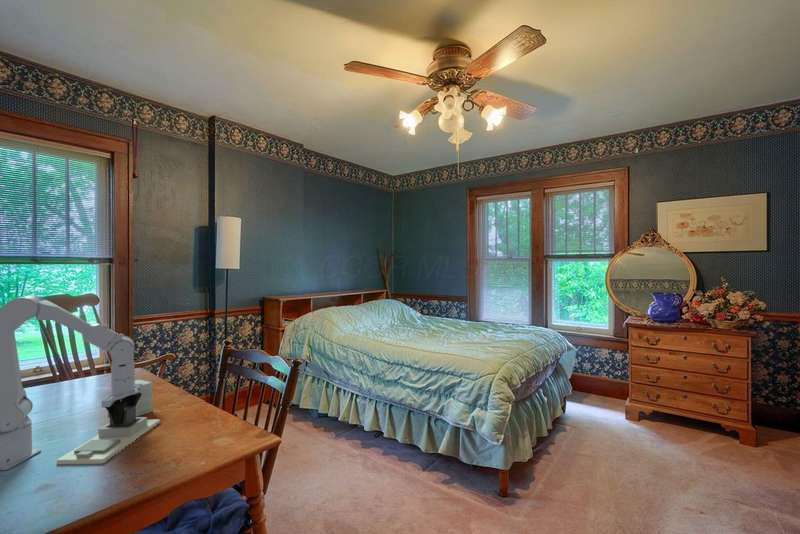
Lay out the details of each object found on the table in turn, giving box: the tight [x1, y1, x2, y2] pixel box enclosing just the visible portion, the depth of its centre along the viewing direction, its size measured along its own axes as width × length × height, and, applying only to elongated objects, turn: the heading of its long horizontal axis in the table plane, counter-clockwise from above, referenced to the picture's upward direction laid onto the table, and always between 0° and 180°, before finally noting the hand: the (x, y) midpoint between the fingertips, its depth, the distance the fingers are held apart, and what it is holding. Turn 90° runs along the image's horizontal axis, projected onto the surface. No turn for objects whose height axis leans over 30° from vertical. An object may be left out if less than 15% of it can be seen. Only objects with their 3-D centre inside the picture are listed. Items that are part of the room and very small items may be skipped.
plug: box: [107, 405, 136, 428], centre depth 112 cm, size 4×6×6 cm, turn 92°
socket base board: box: [56, 416, 161, 465], centre depth 108 cm, size 24×12×4 cm, turn 2°
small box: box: [135, 379, 154, 417], centre depth 128 cm, size 8×6×10 cm
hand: (123, 421), depth 112 cm, fingers closed on plug, 4 cm apart
